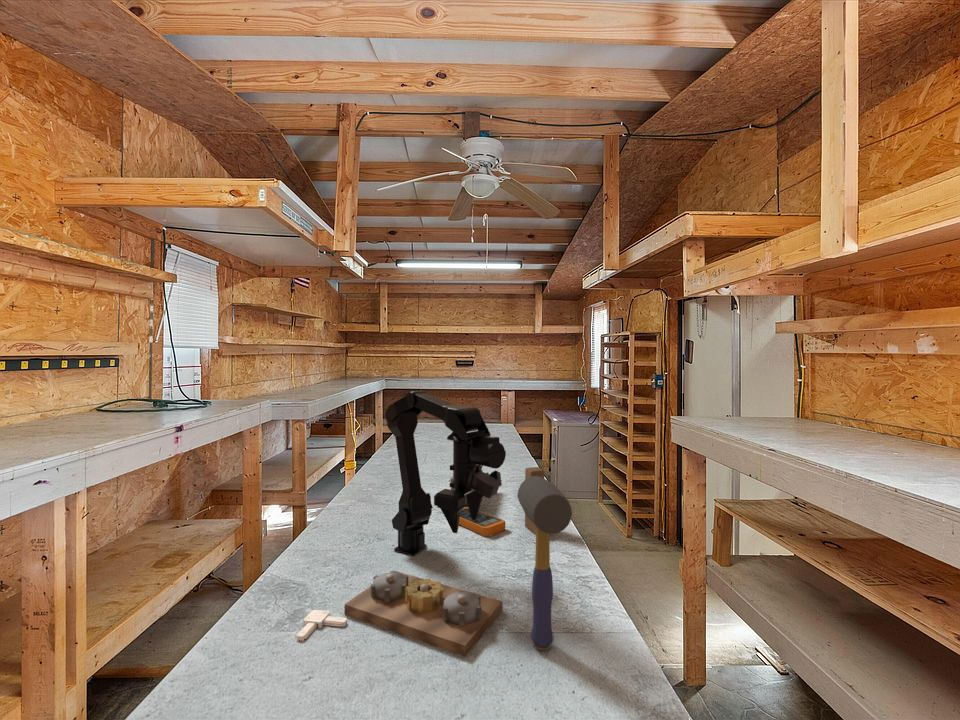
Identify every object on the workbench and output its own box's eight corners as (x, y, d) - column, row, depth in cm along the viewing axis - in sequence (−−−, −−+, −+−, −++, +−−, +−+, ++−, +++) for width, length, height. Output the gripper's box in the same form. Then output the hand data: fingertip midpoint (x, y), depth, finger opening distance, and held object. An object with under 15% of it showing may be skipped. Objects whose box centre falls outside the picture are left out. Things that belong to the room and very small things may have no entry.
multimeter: (467, 515, 149) (467, 504, 149) (507, 531, 136) (507, 520, 136) (446, 521, 143) (447, 511, 143) (486, 539, 130) (486, 527, 130)
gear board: (344, 613, 93) (344, 587, 92) (393, 578, 107) (393, 555, 107) (464, 657, 80) (465, 626, 80) (502, 610, 94) (502, 584, 94)
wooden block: (551, 535, 132) (552, 474, 132) (537, 537, 131) (538, 475, 131) (537, 524, 141) (538, 466, 141) (524, 526, 139) (524, 467, 139)
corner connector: (330, 647, 83) (330, 638, 83) (290, 642, 84) (290, 633, 84) (350, 621, 91) (350, 613, 91) (313, 617, 92) (313, 609, 92)
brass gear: (398, 606, 92) (398, 592, 92) (419, 589, 98) (419, 575, 98) (429, 617, 88) (429, 601, 88) (449, 598, 95) (449, 584, 95)
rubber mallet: (514, 627, 88) (515, 473, 88) (551, 624, 89) (552, 472, 89) (530, 672, 76) (532, 494, 75) (573, 668, 77) (575, 492, 77)
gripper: (477, 474, 96) (476, 548, 96) (512, 456, 112) (511, 519, 113) (432, 468, 101) (432, 537, 101) (472, 451, 118) (472, 511, 118)
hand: (464, 526), depth 108 cm, fingers open, 9 cm apart
